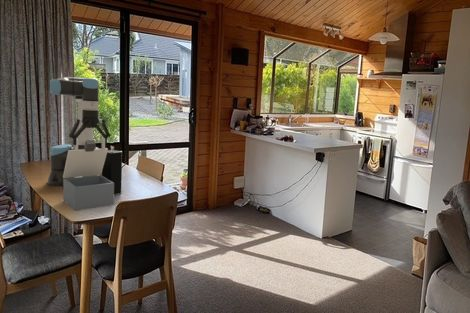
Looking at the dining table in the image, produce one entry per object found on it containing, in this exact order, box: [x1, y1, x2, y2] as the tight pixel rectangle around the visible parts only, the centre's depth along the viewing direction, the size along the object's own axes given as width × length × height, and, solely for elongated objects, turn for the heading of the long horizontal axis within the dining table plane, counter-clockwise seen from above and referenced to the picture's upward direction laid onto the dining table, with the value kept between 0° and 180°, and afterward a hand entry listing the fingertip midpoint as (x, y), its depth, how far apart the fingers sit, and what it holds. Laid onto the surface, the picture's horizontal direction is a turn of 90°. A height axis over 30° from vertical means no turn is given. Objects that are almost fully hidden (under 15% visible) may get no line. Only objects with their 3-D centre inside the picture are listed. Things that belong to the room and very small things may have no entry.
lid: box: [63, 139, 109, 178], centre depth 196 cm, size 24×20×3 cm
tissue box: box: [101, 145, 123, 196], centre depth 214 cm, size 8×8×28 cm
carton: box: [62, 174, 115, 211], centre depth 196 cm, size 18×20×12 cm
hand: (90, 150), depth 191 cm, fingers open, 13 cm apart
